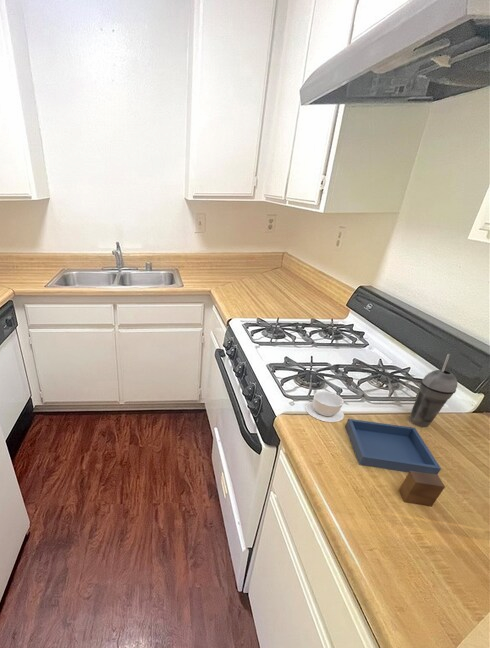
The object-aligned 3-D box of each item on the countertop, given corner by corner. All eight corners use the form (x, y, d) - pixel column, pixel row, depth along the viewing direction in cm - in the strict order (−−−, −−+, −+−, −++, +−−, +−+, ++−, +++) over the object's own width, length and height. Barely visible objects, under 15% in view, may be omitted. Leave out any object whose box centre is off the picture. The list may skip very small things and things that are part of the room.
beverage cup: (438, 434, 88) (479, 364, 77) (405, 428, 90) (441, 358, 79) (429, 418, 94) (467, 351, 83) (399, 412, 96) (432, 346, 84)
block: (424, 495, 71) (437, 474, 67) (430, 508, 68) (445, 486, 65) (397, 491, 71) (409, 470, 68) (403, 503, 69) (416, 482, 66)
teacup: (335, 428, 89) (341, 413, 86) (298, 412, 94) (303, 398, 92) (348, 412, 95) (354, 398, 92) (313, 398, 101) (317, 384, 98)
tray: (410, 436, 87) (415, 427, 85) (435, 477, 75) (441, 468, 73) (344, 427, 89) (348, 418, 88) (358, 466, 77) (363, 456, 76)
